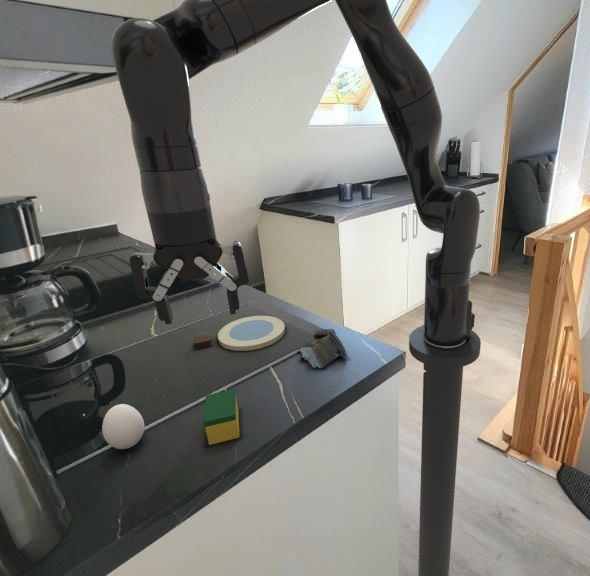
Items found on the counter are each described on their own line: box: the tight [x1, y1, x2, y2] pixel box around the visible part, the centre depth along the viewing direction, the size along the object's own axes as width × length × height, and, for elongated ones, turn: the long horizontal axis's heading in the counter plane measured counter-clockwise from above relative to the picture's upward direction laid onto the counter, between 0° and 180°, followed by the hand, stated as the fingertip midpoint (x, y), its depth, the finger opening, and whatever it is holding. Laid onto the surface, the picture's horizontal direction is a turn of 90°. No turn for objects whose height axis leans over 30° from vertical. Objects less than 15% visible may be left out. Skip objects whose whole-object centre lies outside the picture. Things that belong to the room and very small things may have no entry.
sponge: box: [203, 388, 240, 446], centre depth 65 cm, size 7×4×4 cm, turn 20°
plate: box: [217, 315, 286, 352], centre depth 95 cm, size 15×15×1 cm
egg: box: [101, 403, 145, 450], centre depth 61 cm, size 5×5×7 cm
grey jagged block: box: [299, 328, 348, 369], centre depth 84 cm, size 10×7×12 cm
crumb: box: [194, 334, 212, 350], centre depth 91 cm, size 3×3×2 cm
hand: (202, 316), depth 58 cm, fingers open, 8 cm apart
